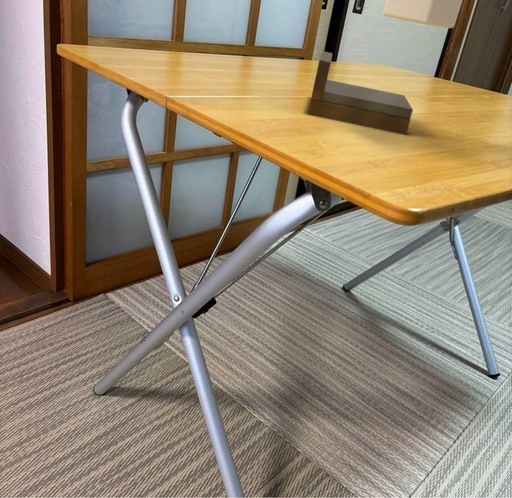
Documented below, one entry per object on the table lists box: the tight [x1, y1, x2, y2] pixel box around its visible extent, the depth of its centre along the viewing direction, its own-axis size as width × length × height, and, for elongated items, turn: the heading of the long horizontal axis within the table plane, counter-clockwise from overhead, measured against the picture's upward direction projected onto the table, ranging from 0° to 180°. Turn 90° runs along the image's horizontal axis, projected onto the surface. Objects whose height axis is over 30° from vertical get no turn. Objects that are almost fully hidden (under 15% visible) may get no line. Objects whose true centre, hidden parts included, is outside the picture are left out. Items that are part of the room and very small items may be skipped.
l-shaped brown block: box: [307, 51, 414, 135], centre depth 87 cm, size 16×14×8 cm
